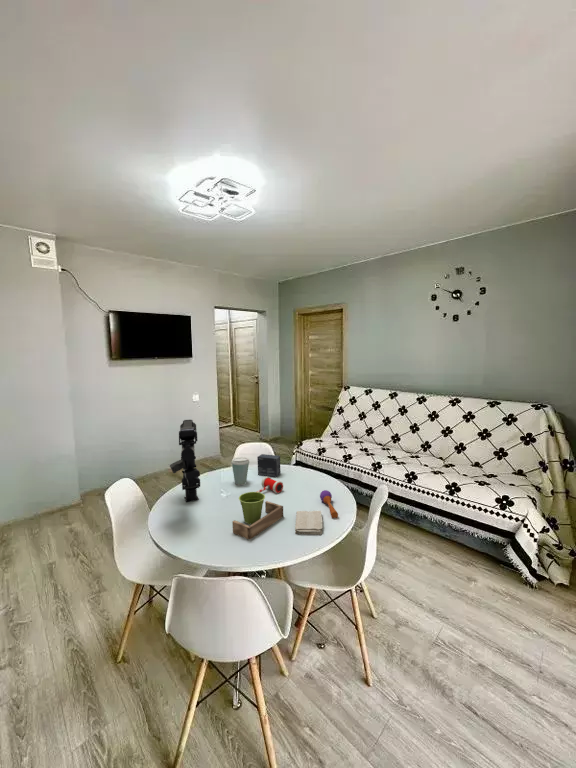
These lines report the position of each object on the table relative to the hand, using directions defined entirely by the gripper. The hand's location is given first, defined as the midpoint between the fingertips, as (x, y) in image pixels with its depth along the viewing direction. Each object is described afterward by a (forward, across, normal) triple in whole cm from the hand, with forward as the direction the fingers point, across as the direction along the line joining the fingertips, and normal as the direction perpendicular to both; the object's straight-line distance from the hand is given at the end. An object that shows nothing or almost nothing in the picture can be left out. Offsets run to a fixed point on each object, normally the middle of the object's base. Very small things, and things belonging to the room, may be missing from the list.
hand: (190, 486), depth 155 cm
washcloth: (+14, +37, +44) cm, 59 cm away
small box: (+13, -26, +53) cm, 61 cm away
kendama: (+14, +30, +60) cm, 68 cm away
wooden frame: (+13, +27, +24) cm, 38 cm away
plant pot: (+13, +22, +23) cm, 35 cm away
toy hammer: (+14, -2, +40) cm, 42 cm away
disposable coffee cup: (+13, -22, +33) cm, 42 cm away
